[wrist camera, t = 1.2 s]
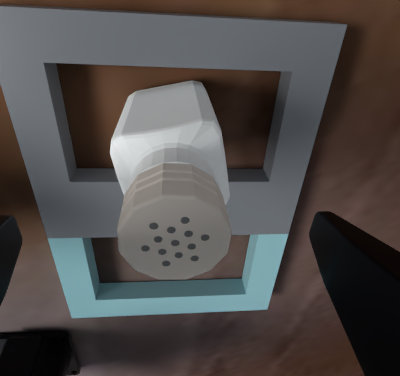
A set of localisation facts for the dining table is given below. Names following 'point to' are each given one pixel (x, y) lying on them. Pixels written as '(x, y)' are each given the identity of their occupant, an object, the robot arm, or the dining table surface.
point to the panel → (106, 177)
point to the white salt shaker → (171, 182)
